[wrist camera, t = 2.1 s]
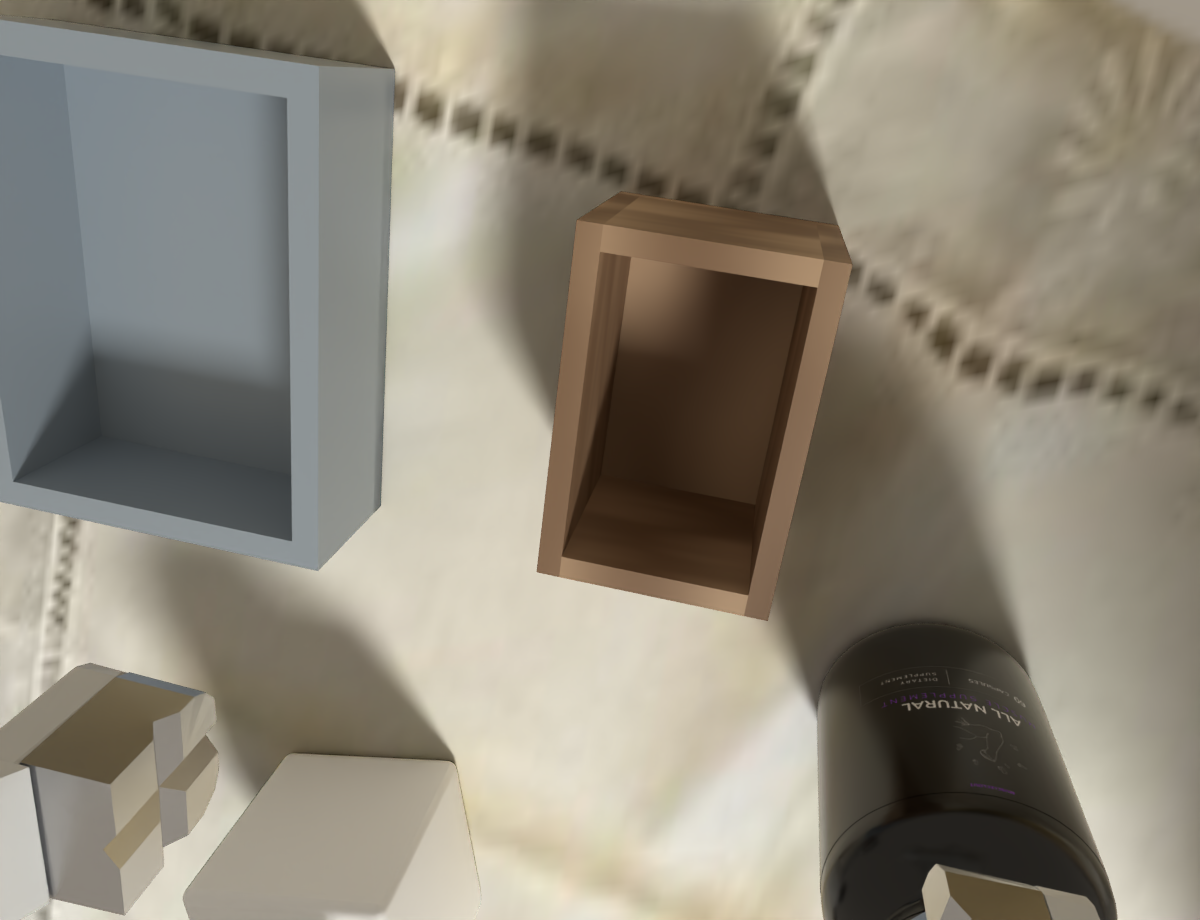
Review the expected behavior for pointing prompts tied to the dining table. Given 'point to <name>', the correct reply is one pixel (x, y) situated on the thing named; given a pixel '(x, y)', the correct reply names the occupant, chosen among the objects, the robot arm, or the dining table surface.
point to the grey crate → (193, 287)
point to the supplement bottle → (941, 776)
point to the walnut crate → (688, 397)
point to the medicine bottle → (345, 846)
